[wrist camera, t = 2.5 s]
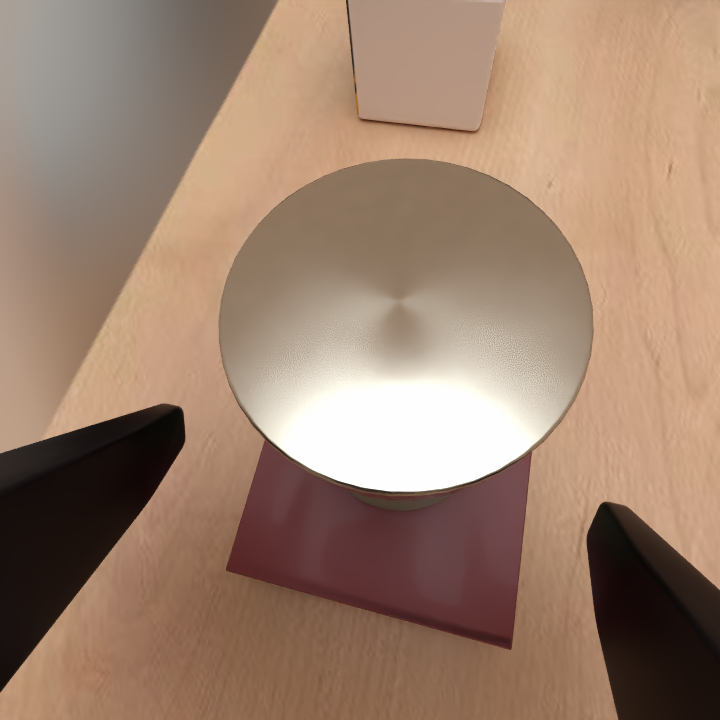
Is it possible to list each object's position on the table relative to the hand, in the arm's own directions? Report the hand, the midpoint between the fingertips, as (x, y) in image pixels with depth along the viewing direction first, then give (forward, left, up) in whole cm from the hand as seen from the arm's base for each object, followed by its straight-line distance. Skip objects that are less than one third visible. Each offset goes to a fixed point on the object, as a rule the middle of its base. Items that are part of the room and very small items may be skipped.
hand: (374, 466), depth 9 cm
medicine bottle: (+21, +11, -10) cm, 26 cm away
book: (+2, +1, -10) cm, 10 cm away
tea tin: (+2, +1, -7) cm, 8 cm away
